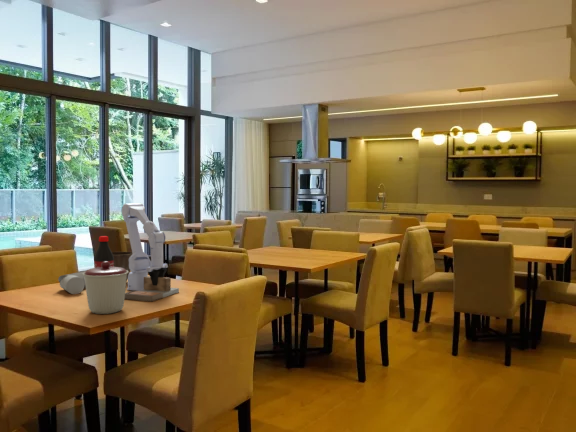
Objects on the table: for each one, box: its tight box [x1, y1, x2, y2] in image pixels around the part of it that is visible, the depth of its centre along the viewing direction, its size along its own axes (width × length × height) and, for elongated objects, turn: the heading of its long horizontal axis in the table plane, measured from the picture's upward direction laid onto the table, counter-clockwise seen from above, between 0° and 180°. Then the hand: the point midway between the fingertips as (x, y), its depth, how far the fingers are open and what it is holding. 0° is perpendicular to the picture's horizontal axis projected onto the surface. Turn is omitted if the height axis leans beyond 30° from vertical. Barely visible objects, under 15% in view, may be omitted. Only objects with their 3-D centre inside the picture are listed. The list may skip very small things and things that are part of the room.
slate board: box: [139, 287, 180, 298], centre depth 254 cm, size 15×14×2 cm
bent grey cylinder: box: [57, 270, 87, 295], centre depth 264 cm, size 18×11×20 cm
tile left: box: [129, 291, 147, 295], centre depth 246 cm, size 6×6×2 cm
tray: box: [124, 290, 164, 303], centre depth 244 cm, size 16×8×2 cm, turn 69°
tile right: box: [141, 292, 159, 296], centre depth 243 cm, size 6×6×2 cm
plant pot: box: [111, 251, 133, 283], centre depth 284 cm, size 15×15×16 cm
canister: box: [83, 261, 129, 315], centre depth 218 cm, size 18×18×21 cm
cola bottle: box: [93, 235, 114, 268], centre depth 234 cm, size 8×8×30 cm
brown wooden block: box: [144, 275, 172, 291], centre depth 254 cm, size 13×4×6 cm, turn 69°
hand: (157, 284), depth 254 cm, fingers closed on brown wooden block, 3 cm apart
